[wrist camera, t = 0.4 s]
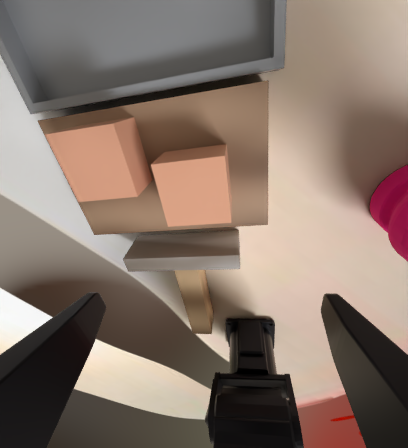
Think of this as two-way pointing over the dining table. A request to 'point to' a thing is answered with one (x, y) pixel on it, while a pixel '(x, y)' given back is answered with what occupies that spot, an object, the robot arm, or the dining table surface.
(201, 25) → the box
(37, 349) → the robot arm
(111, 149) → the tile
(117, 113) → the board
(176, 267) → the scraper
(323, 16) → the dining table surface
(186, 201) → the tan square block
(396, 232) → the pepper mill
